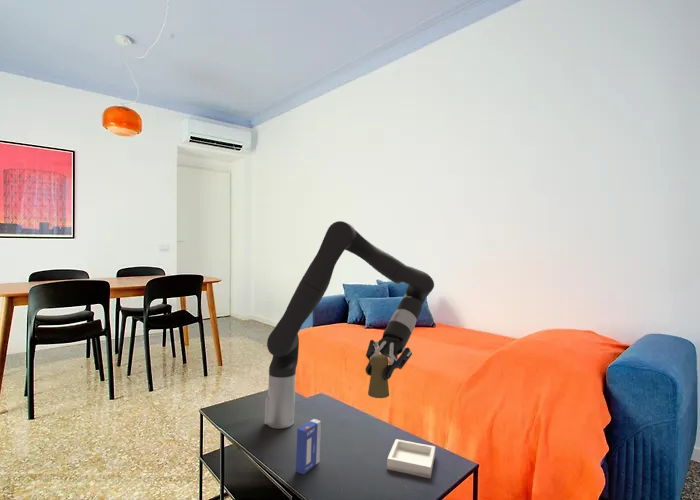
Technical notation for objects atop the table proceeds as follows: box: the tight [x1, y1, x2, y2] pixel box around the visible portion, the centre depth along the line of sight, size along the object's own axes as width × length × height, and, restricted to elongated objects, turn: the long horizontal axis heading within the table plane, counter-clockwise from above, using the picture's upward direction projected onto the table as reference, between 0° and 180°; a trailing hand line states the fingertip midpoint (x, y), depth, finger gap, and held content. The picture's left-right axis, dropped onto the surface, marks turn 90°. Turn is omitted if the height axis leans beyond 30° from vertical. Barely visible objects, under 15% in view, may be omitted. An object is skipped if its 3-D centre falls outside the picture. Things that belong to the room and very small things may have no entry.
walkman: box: [295, 418, 322, 475], centre depth 106 cm, size 8×3×12 cm, turn 150°
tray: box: [386, 438, 436, 479], centre depth 110 cm, size 12×12×3 cm
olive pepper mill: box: [367, 353, 390, 399], centre depth 107 cm, size 6×6×11 cm
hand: (376, 376), depth 106 cm, fingers closed on olive pepper mill, 5 cm apart
